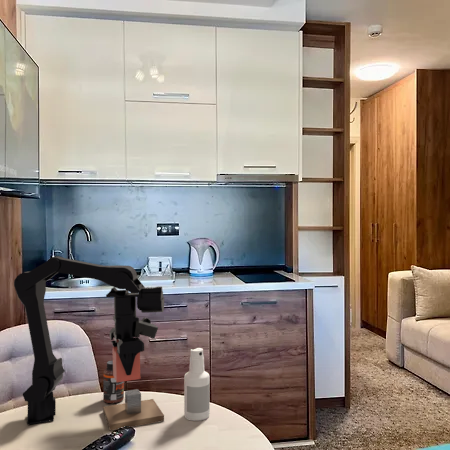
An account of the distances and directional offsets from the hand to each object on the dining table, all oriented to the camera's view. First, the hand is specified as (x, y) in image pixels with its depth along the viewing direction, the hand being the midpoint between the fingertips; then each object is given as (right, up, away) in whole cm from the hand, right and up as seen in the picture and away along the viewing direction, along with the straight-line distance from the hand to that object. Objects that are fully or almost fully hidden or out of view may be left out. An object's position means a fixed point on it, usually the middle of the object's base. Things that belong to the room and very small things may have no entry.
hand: (126, 371), depth 118 cm
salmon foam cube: (0, -2, 0) cm, 2 cm away
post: (+2, -11, +1) cm, 11 cm away
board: (+2, -13, +1) cm, 13 cm away
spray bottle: (+19, -13, +1) cm, 23 cm away
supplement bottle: (-7, -13, +12) cm, 19 cm away
